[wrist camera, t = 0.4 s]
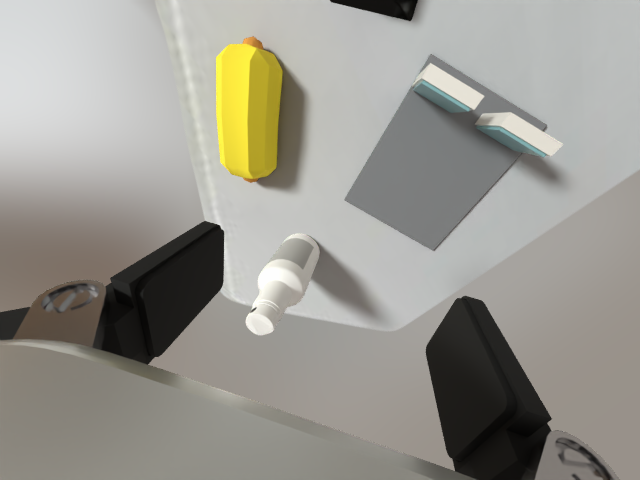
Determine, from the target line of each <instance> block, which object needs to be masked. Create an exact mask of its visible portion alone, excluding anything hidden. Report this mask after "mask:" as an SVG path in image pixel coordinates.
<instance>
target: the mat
mask: <svg viewBox="0 0 640 480" xmlns="http://www.w3.org/2000/svg"><path fill="white" fill-rule="evenodd" d="M430 63H431V64H433V65H435V66H436V67H438V68H440V69H441V70H443V71H444V72H446V73H448V74H449V75H451V76H453V77H454V78H456V79H458V80H459V81H461V82H462V83H464V84H466V85H467V86H469V87H471V88H472V89H474V90H476V91H477V92H479V93H480V94H482V95H484V98H483V99H482V100H481V102H480V103H479V104H478V106H477V107H476V108H475V110H469V111H468V112H455V113H450V112H448V111H447V110H445V109H443V108H442V107H440V106H438V105H437V104H435V103H433V102H432V101H430V100H428V99H427V98H425V97H424V96H422V95H420V94H419V93H417V92H415V91H414V90H413V89H414V87H412V86H411V88H410V90H409V92H408V93H407V95H406V97H405V98H404V100H403V102H402V103H401V105H400V107H399V108H398V110H397V112H396V113H395V115H394V117H393V119H392V120H391V122H390V124H389V125H388V127H387V129H386V130H385V132H384V134H383V135H382V137H381V139H380V140H379V142H378V144H377V146H376V147H375V149H374V151H373V152H372V154H371V156H370V157H369V159H368V161H367V162H366V164H365V166H364V167H363V169H362V171H361V173H360V174H359V176H358V178H357V179H356V181H355V183H354V184H353V186H352V188H351V189H350V191H349V193H348V194H347V196H346V198H345V201H347V202H349V203H350V204H352V205H354V206H356V207H357V208H359V209H361V210H363V211H364V212H366V213H368V214H370V215H371V216H373V217H375V218H377V219H378V220H380V221H382V222H384V223H385V224H387V225H389V226H391V227H392V228H394V229H396V230H398V231H399V232H401V233H403V234H405V235H406V236H408V237H410V238H412V239H413V240H415V241H417V242H419V243H421V244H422V245H424V246H426V247H428V248H429V249H431V250H434V249H435V248H436V247H437V246H438V245H439V244H440V242H441V241H442V240H443V239H444V238H445V237H446V236H447V235H448V234H449V233H450V231H451V230H452V229H453V228H454V227H455V226H456V225H457V224H458V223H459V222H460V220H461V219H462V218H463V217H464V216H465V215H466V214H467V213H468V212H469V211H470V209H471V208H472V207H473V206H474V205H475V204H476V203H477V202H478V201H479V200H480V199H481V197H482V196H483V195H484V194H485V193H486V192H487V191H488V190H489V189H490V188H491V186H492V185H493V184H494V183H495V182H496V181H497V180H498V179H499V178H500V177H501V175H502V174H503V173H504V172H505V171H506V170H507V169H508V168H509V167H510V166H511V164H512V163H513V162H514V161H515V160H516V159H517V158H518V157H519V156H520V155H521V154H522V152H518V151H514V150H511V149H510V148H508V147H506V146H505V145H503V144H501V143H500V142H498V141H497V140H495V139H493V138H492V137H490V136H488V135H487V134H485V133H483V132H482V131H480V130H478V129H477V128H476V127H477V125H475V123H476V122H477V120H478V119H479V118H480V116H481V115H482V114H484V113H506V112H512V113H513V114H515V115H516V116H518V117H520V118H521V119H523V120H525V121H526V122H528V123H530V124H531V125H533V126H534V127H536V128H538V129H539V130H541V131H542V130H543V129H544V128H545V127H546V126H547V125H546V124H545V123H543V122H541V121H540V120H538V119H536V118H535V117H533V116H531V115H530V114H528V113H527V112H525V111H523V110H522V109H520V108H518V107H517V106H515V105H514V104H512V103H510V102H509V101H507V100H505V99H504V98H502V97H500V96H499V95H497V94H496V93H494V92H492V91H491V90H489V89H487V88H486V87H484V86H483V85H481V84H479V83H478V82H476V81H474V80H473V79H471V78H470V77H468V76H466V75H465V74H463V73H461V72H460V71H458V70H456V69H455V68H453V67H452V66H450V65H448V64H447V63H445V62H443V61H442V60H440V59H439V58H437V57H435V56H434V55H432V54H431V55H430V56H429V58H428V59H427V61H426V63H425V65H424V66H423V68H422V70H421V71H420V73H421V72H422V71H423V70H424V69H425V68H426V67H427V66H428V65H429V64H430ZM420 73H419V74H420ZM417 77H418V76H417ZM414 82H415V81H414Z"/></svg>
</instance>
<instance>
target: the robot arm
mask: <svg viewBox="0 0 640 480" xmlns="http://www.w3.org/2000/svg"><path fill="white" fill-rule="evenodd" d="M223 275H224V231H223V230H222V229H221V227H220V226H219V225H217V224H214V223H210V222H207V221H204V222H202V223H200V224H199V225H197V226H195V227H194V228H192V229H190V230H189V231H187V232H185V233H184V234H182V235H180V236H179V237H177V238H176V239H174V240H172V241H171V242H169V243H167V244H166V245H164V246H162V247H161V248H159V249H157V250H156V251H154V252H152V253H151V254H149V255H147V256H146V257H144V258H142V259H141V260H139V261H138V262H136V263H134V264H133V265H131V266H129V267H128V268H126V269H124V270H123V271H121V272H119V273H118V274H116V275H114V276H113V277H111V278H110V279H111V282H112V283H110V284H109V285H107V286H104V285H103V283H100V282H98V281H94V280H77V281H71V282H66V283H64V284H60V285H57V286H55V287H53V288H51V289H49V290H46V291H45V292H44V293H42V294H41V295H39V296H38V297H37V298H36V300H35V301H34V302H33V303H32V305H31V307H27V308H22V309H16V310H10V311H5V312H0V480H620V479H619V478H618V477H617V475H616V474H615V472H614V471H613V470H612V468H611V467H610V466H609V465H608V464H607V463H606V462H605V461H604V460H603V459H602V457H601V456H599V455H598V454H597V453H596V452H595V451H594V450H593V449H592V448H590V447H589V446H588V445H587V444H585V443H584V442H582V441H581V440H580V439H578V438H576V437H575V436H573V435H571V434H568V433H567V432H563V431H559V430H555V431H551V429H550V427H549V426H548V424H547V423H548V422H549V421H550V420H551V417H550V415H549V413H548V411H547V410H546V408H545V406H544V405H543V403H542V401H541V400H540V398H539V396H538V394H537V393H536V391H535V389H534V388H533V386H532V384H531V382H530V381H529V379H528V378H527V376H526V374H525V372H524V371H523V369H522V367H521V365H520V364H519V362H518V360H517V359H516V357H515V355H514V353H513V352H512V350H511V348H510V347H509V345H508V343H507V341H506V340H505V338H504V337H503V335H502V333H501V331H500V329H499V328H498V326H497V324H496V323H495V321H494V319H493V318H492V316H491V314H490V312H489V311H488V309H487V307H486V305H485V304H484V302H483V301H481V300H478V299H474V298H471V297H467V296H463V297H462V298H457V299H456V300H455V302H454V303H453V305H452V306H451V308H450V310H449V311H448V313H447V314H446V316H445V318H444V319H443V321H442V322H441V324H440V325H439V327H438V329H437V330H436V332H435V333H434V335H433V337H432V338H431V340H430V341H429V343H428V345H427V347H426V356H427V361H428V366H429V371H430V375H431V380H432V385H433V389H434V394H435V399H436V403H437V408H438V412H439V417H440V422H441V427H442V432H443V436H444V441H445V446H446V450H447V453H448V455H449V457H450V458H452V459H453V463H454V468H455V471H453V470H450V469H447V468H444V467H442V466H439V465H436V464H433V463H430V462H427V461H425V460H422V459H419V458H416V457H413V456H411V455H407V454H405V453H402V452H399V451H396V450H393V449H391V448H388V447H385V446H382V445H379V444H377V443H374V442H371V441H368V440H365V439H362V438H360V437H357V436H354V435H351V434H348V433H345V432H342V431H340V430H336V429H333V428H331V427H328V426H325V425H322V424H320V423H316V422H313V421H311V420H308V419H305V418H302V417H299V416H297V415H294V414H291V413H288V412H285V411H282V410H279V409H276V408H273V407H271V406H267V405H265V404H262V403H259V402H256V401H253V400H250V399H247V398H244V397H242V396H239V395H236V394H233V393H230V392H227V391H224V390H221V389H218V388H215V387H212V386H209V385H206V384H204V383H201V382H197V381H195V380H192V379H189V378H186V377H183V376H180V375H177V374H174V373H171V372H168V371H165V370H163V369H159V368H156V367H153V366H150V365H148V364H149V363H150V362H151V360H152V359H153V358H154V357H159V356H160V355H162V354H163V353H164V352H165V350H166V349H167V348H168V347H169V346H170V345H171V344H172V343H173V341H174V340H175V339H176V338H177V337H178V336H179V335H180V334H181V333H182V331H183V330H184V329H185V328H186V327H187V326H188V325H189V324H190V323H191V322H192V320H193V319H194V318H195V317H196V316H197V315H198V314H199V313H200V312H201V310H202V309H203V308H204V307H205V306H206V305H207V304H208V303H209V301H211V299H212V298H213V297H214V296H215V295H216V294H217V293H218V292H219V291H220V289H221V288H222V285H223Z"/></svg>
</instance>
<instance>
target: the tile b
mask: <svg viewBox="0 0 640 480" xmlns="http://www.w3.org/2000/svg"><path fill="white" fill-rule="evenodd" d="M475 125H477V127H476V128H477V129H478V130H480V131H482V132H483V133H485V134H487V135H488V136H490V137H492V138H493V139H495V140H497V141H498V142H500V143H501V144H503V145H505V146H506V147H508V148H510V149H511V150H514V151H518V152H523V153H527V154H531V155H536V156H540V157H545V156H552V155H553V154H554V153H555V152H556V151H557V150H558V149H559V148H560V147H561V146H562V145H563V144H562V143H561V142H559V141H557V140H556V139H554V138H552V137H551V136H549V135H548V134H546V133H544V132H543V131H541V130H539V129H538V128H536V127H534V126H533V125H531V124H530V123H528V122H526V121H525V120H523V119H521V118H520V117H518V116H516V115H515V114H513V113H512V112H506V113H484V114H482V115H481V116H480V118H479V119H478V120H477V122H476V123H475Z"/></svg>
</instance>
